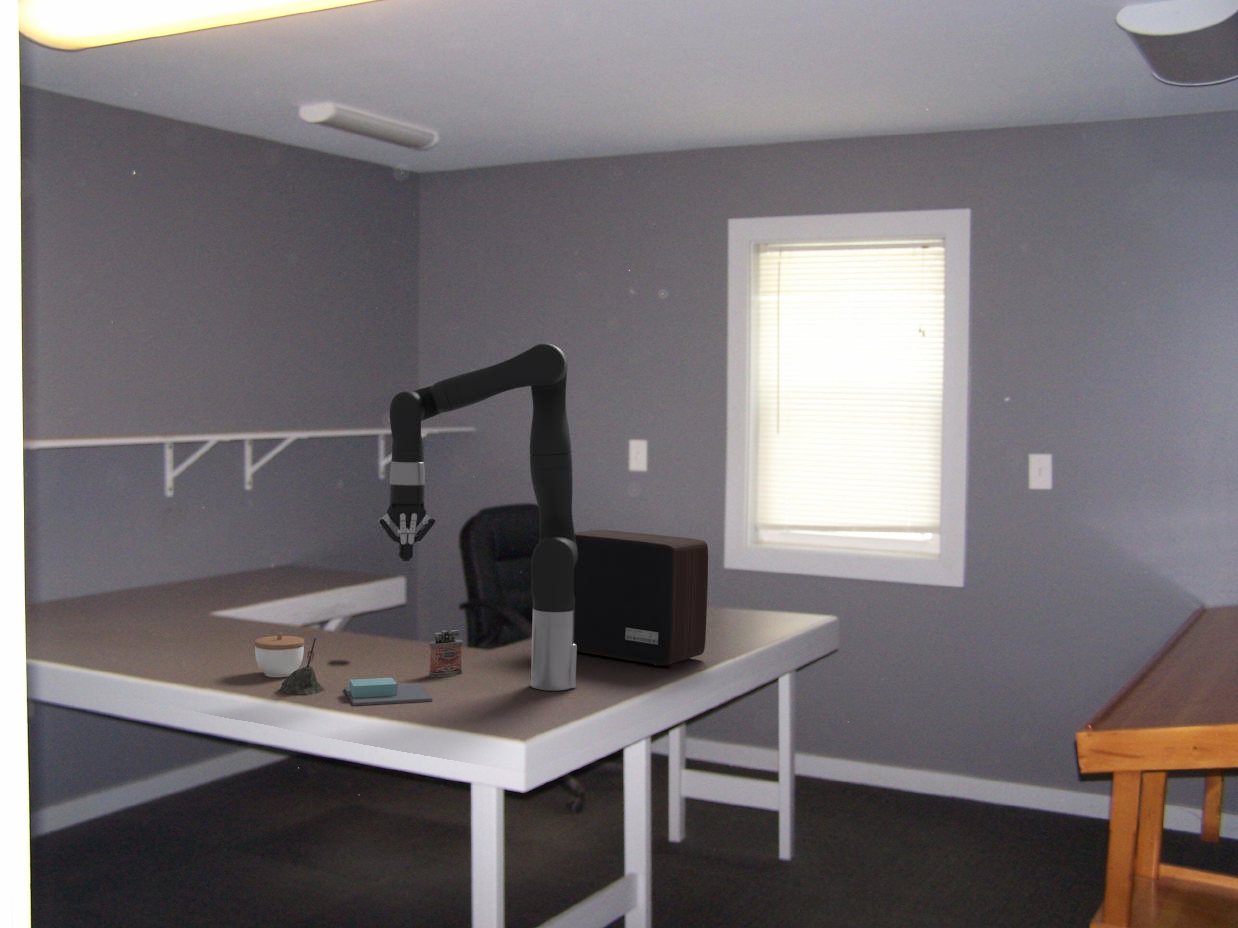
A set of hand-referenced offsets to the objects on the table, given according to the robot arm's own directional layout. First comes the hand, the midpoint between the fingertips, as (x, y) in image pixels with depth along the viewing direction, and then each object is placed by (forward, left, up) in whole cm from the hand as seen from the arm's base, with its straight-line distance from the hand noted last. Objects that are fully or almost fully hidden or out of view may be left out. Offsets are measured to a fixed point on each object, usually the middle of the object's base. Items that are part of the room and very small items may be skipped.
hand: (405, 560), depth 269 cm
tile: (+4, +13, -25) cm, 28 cm away
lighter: (-10, -4, -27) cm, 29 cm away
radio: (-59, -16, -27) cm, 67 cm away
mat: (+6, +13, -27) cm, 30 cm away
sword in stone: (+23, +4, -27) cm, 36 cm away
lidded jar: (+26, -12, -27) cm, 39 cm away
